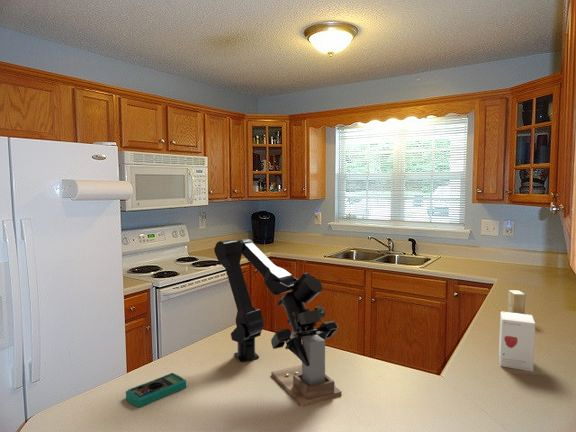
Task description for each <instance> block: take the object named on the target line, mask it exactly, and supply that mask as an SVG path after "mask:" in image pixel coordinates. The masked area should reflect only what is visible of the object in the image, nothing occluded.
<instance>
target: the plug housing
mask: <svg viewBox="0 0 576 432" xmlns="http://www.w3.org/2000/svg"><path fill="white" fill-rule="evenodd" d="M301 340H302V346H303V348H304V351H305V353H306V356H307V358H308V362H309V366H306V365H305V364H304V363H303V362H302V361H301V365H302V381H303V382H305V383H306V384H307V385H308V386H312V385H316V384H320V383H324V382H325V374H326V339H325V340H324V339H323V338H321V337H319V336H318V335H312V336H307V337H302V338H301Z"/></svg>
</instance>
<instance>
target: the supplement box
mask: <svg viewBox="0 0 576 432" xmlns="http://www.w3.org/2000/svg"><path fill="white" fill-rule="evenodd" d="M499 318H500V323H499V339H498V340H499V342H498V359H499V366H500V367H504V368H510V369H516V370H522V371H527V372H531V373H532V372H534V363H535V361H534V359H535V357H534V356H535V343H536V341H535V340H536V338H535V337H536V322H535V320H534V316H533V314H527V313H525V314H519V313H510V312H508V311H500V317H499Z"/></svg>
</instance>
